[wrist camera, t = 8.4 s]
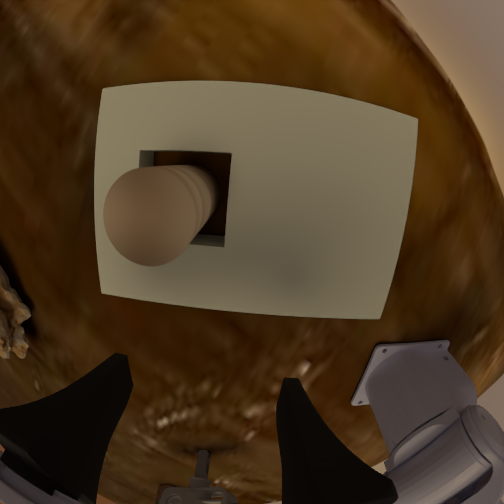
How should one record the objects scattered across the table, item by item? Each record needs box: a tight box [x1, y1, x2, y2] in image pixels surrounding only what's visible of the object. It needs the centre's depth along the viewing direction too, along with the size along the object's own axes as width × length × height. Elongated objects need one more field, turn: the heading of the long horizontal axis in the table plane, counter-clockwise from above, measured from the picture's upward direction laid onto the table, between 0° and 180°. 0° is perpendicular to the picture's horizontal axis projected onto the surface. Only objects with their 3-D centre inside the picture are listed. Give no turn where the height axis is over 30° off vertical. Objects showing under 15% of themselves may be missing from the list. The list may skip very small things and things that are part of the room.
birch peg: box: [103, 165, 220, 266], centre depth 14 cm, size 4×4×8 cm
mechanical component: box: [157, 450, 239, 504], centre depth 23 cm, size 3×10×10 cm, turn 112°
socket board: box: [94, 81, 418, 319], centre depth 17 cm, size 20×14×2 cm
